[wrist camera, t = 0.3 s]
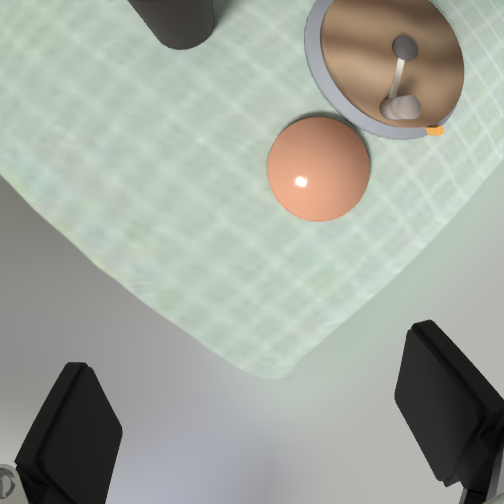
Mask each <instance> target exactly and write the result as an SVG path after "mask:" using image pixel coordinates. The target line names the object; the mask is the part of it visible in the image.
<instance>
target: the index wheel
mask: <svg viewBox="0 0 504 504" xmlns="http://www.w3.org/2000/svg"><path fill="white" fill-rule="evenodd" d="M320 47H321V52H322V57H323V60H324V63H325V66H326V69H327V71H328V73H329V75H330V77H331V79H332V80H333V82H334V84H335V85H336V87H337V88H338V90H339V91H340V92H341V93H342V95H343V96H344V97H345V98H346V99H347V100H348V101H349V102H350V103H351V104H352V105H353V106H354V107H355V108H357V109H358V110H359V111H360V112H362V113H363V114H365V115H366V116H368V117H370V118H372V119H374V120H376V121H377V122H380V123H383V124H386V125H389V126H394V127H402V128H420V127H425V126H430V125H432V124H435V123H437V122H439V121H440V120H442V119H444V118H445V117H446V116H447V115H448V114H449V113H450V112H451V111H452V109H453V108H454V107H455V105H456V103H457V102H458V100H459V97H460V95H461V92H462V88H463V82H464V63H463V57H462V52H461V49H460V46H459V43H458V40H457V38H456V36H455V34H454V32H453V30H452V28H451V26H450V25H449V23H448V22H447V20H446V19H445V18H444V16H443V15H442V14H441V13H440V12H439V10H438V9H437V8H436V7H435V6H434V5H433V4H431V3H430V2H429V1H428V0H334V1H333V2H332V3H331V4H330V6H329V7H328V9H327V10H326V12H325V14H324V17H323V20H322V24H321V28H320Z"/></svg>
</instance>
